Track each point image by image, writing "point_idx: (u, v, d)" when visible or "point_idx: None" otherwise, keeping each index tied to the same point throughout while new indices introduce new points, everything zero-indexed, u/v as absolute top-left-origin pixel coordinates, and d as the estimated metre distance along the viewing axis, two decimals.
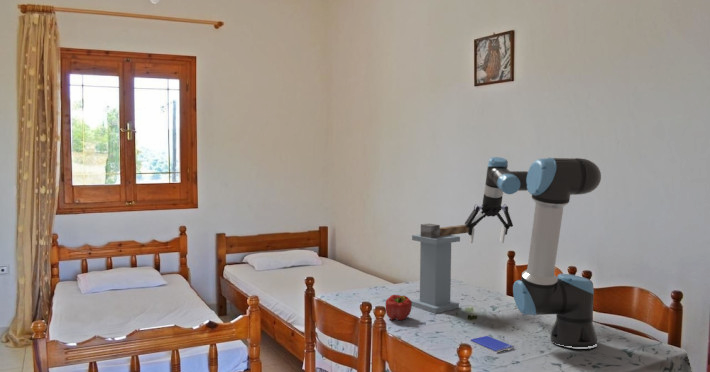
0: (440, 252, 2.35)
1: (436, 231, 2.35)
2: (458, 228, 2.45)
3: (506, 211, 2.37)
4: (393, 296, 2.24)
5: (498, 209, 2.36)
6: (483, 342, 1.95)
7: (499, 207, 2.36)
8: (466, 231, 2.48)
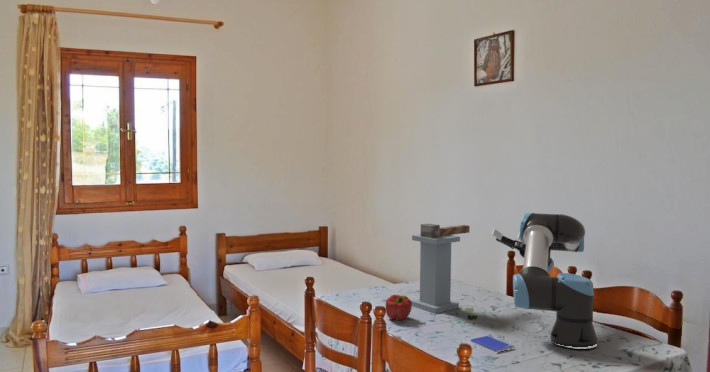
0: (440, 252, 2.35)
1: (436, 231, 2.35)
2: (458, 228, 2.45)
3: None
4: (393, 296, 2.24)
5: None
6: (483, 342, 1.95)
7: None
8: (466, 231, 2.48)
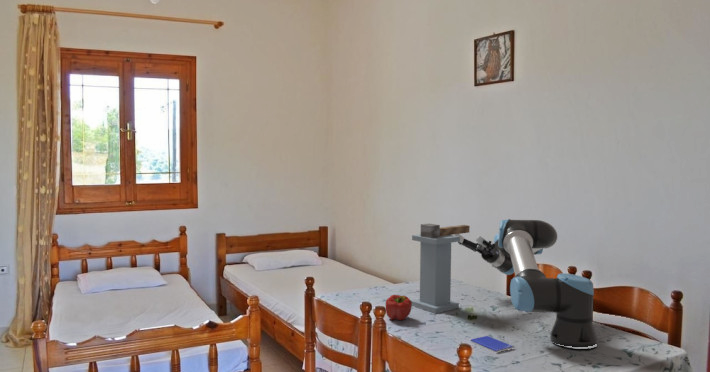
0: (440, 252, 2.35)
1: (436, 231, 2.35)
2: (458, 228, 2.45)
3: None
4: (393, 296, 2.24)
5: None
6: (483, 342, 1.95)
7: None
8: (466, 231, 2.48)
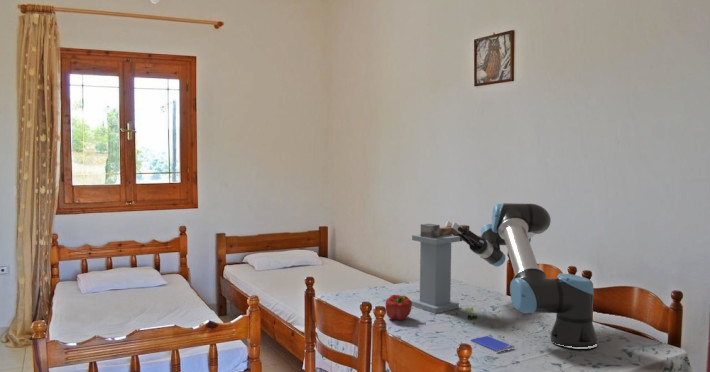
0: (440, 252, 2.35)
1: (436, 230, 2.35)
2: None
3: None
4: (393, 296, 2.24)
5: None
6: (483, 342, 1.95)
7: None
8: None
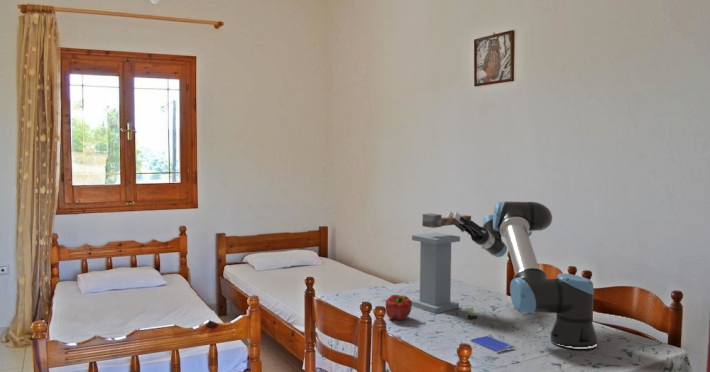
0: (440, 252, 2.35)
1: (438, 220, 2.35)
2: None
3: None
4: (393, 296, 2.24)
5: None
6: (483, 342, 1.95)
7: None
8: None
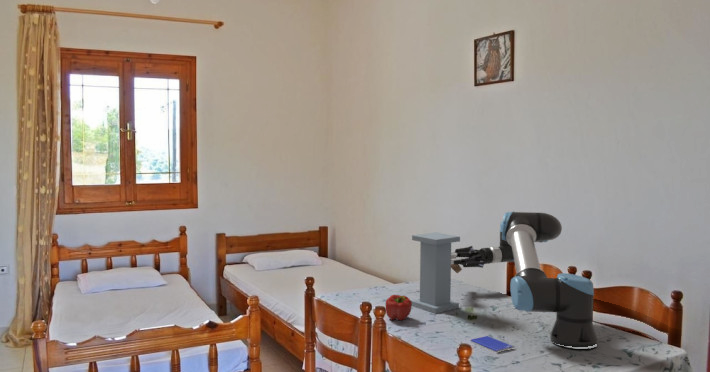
0: (440, 252, 2.35)
1: None
2: None
3: (479, 262, 2.64)
4: (393, 296, 2.24)
5: (482, 258, 2.67)
6: (483, 342, 1.95)
7: (483, 259, 2.66)
8: (456, 270, 2.68)
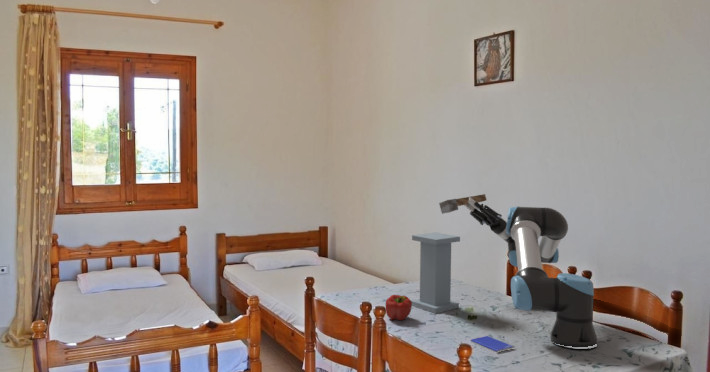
0: (440, 252, 2.35)
1: None
2: None
3: (480, 222, 2.75)
4: (393, 296, 2.24)
5: (488, 224, 2.73)
6: (483, 342, 1.95)
7: (488, 225, 2.74)
8: None
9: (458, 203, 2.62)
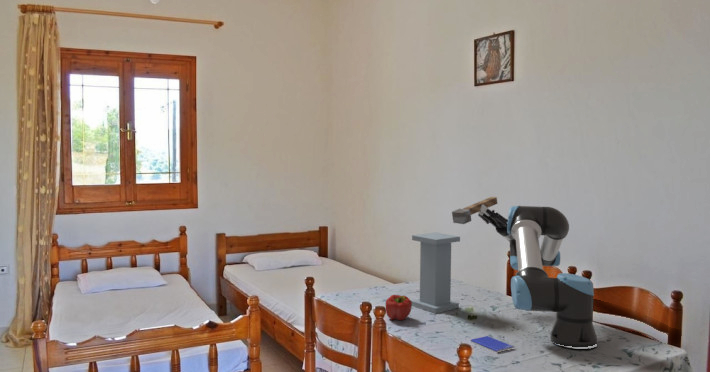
0: (440, 252, 2.35)
1: None
2: None
3: (486, 222, 2.67)
4: (393, 296, 2.24)
5: None
6: (483, 342, 1.95)
7: None
8: None
9: (471, 212, 2.50)
